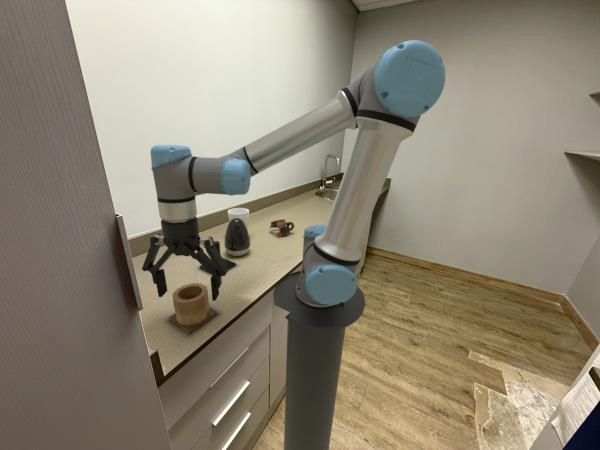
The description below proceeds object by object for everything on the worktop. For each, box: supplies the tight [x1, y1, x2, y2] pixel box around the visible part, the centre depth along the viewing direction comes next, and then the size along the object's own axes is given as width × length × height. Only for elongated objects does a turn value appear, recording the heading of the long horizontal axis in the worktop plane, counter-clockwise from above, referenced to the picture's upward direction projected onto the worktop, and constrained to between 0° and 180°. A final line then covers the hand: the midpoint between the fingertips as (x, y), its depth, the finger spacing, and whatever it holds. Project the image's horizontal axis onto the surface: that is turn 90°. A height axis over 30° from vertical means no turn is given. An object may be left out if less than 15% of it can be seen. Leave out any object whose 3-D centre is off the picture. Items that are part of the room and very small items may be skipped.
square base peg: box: [198, 240, 237, 274], centre depth 87 cm, size 9×9×10 cm
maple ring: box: [172, 282, 210, 325], centre depth 63 cm, size 8×8×7 cm
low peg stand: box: [168, 298, 218, 335], centre depth 63 cm, size 8×8×6 cm
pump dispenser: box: [223, 218, 252, 257], centre depth 96 cm, size 10×10×15 cm
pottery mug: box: [269, 218, 295, 238], centre depth 120 cm, size 12×10×8 cm
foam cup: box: [227, 207, 250, 230], centre depth 112 cm, size 10×9×13 cm
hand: (189, 295), depth 62 cm, fingers open, 13 cm apart
